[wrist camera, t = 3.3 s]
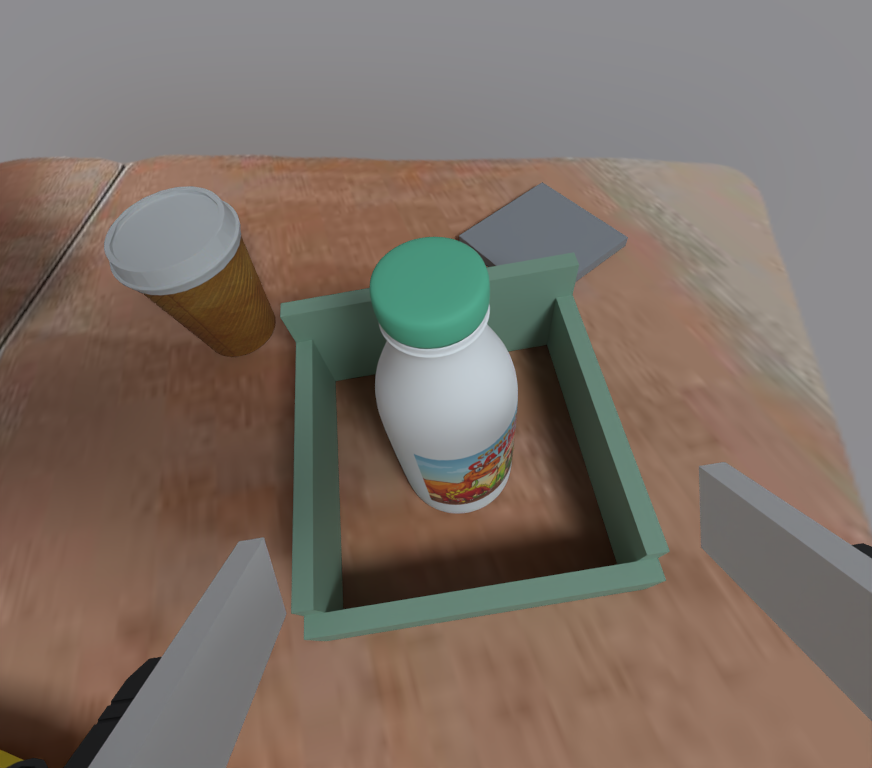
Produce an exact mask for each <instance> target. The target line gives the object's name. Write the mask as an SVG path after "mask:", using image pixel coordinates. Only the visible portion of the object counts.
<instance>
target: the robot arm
mask: <svg viewBox="0 0 872 768" xmlns="http://www.w3.org/2000/svg"><path fill="white" fill-rule="evenodd" d="M699 487H700V524H701V548H702V549H703V550H704V551H705V552H706V553H707V554H708V555H709V556H710V557H711V558H712V559H713V560H714V561H715V562H716V563H717V564H718V565H719V566H720V567H721V568H722V569H723V570H724V571H725V572H726V573H727V574H728V575H729V576H730V577H731V578H732V579H733V580H734V581H735V582H736V583H737V584H738V585H739V586H740V587H741V588H742V589H743V590H744V591H745V592H746V593H747V594H748V595H749V596H750V598H751V599H752V600H753V601H754V602H755V603H756V604H757V605H758V606H759V607H760V608H761V609H762V610H763V611H764V612H765V613H766V614H767V615H768V616H769V617H770V618H771V619H772V620H773V621H774V622H775V623H776V624H777V625H778V626H779V627H780V628H781V629H782V630H783V631H784V632H785V633H786V634H787V635H788V636H789V637H790V638H791V639H792V640H793V641H794V642H795V643H796V644H797V645H798V647H799V648H800V649H801V650H802V651H803V652H804V653H805V654H806V655H807V656H808V657H809V658H810V659H811V660H812V661H813V662H814V663H815V664H816V665H817V666H818V667H819V668H820V669H821V670H822V671H823V672H824V673H825V674H826V675H827V676H828V677H829V678H830V679H831V680H832V681H833V682H834V683H835V684H836V685H837V686H838V687H839V688H840V689H841V690H842V691H843V692H844V693H845V694H846V695H847V697H848V698H849V699H850V700H851V701H852V702H853V703H854V704H855V705H856V706H857V707H858V708H859V709H860V710H861V711H862V712H863V713H864V714H865V715H866V716H867V717H868V718H869V719H870V720H871V721H872V547H871V546H869V545H866V544H864V543H862V544H855V545H850V544H849V543H847V542H846V541H844V540H843V539H841V538H840V537H838V536H837V535H835V534H834V533H832V532H830V531H829V530H827V529H826V528H824V527H823V526H821V525H820V524H818V523H817V522H815V521H814V520H812V519H811V518H809V517H808V516H806V515H805V514H803V513H802V512H800V511H799V510H797V509H795V508H794V507H792V506H791V505H789V504H788V503H786V502H785V501H783V500H782V499H780V498H779V497H777V496H776V495H774V494H773V493H771V492H770V491H768V490H767V489H765V488H764V487H762V486H761V485H759V484H757V483H756V482H754V481H753V480H751V479H750V478H748V477H747V476H745V475H744V474H742V473H741V472H739V471H738V470H736V469H735V468H733V467H732V466H730V465H729V464H727V463H726V462H722V463H716V464H710V465H704V466H699ZM285 616H286V611H285V607H284V604H283V600H282V597H281V594H280V590H279V587H278V583H277V580H276V577H275V573H274V570H273V566H272V563H271V560H270V556H269V553H268V550H267V546H266V543H265V539H264V538H257V539H251V540H245V541H239V542H238V544H237V545H236V547H235V548H234V550H233V551H232V553H231V554H230V556H229V557H228V559H227V560H226V562H225V563H224V565H223V566H222V568H221V569H220V571H219V572H218V574H217V575H216V577H215V578H214V580H213V581H212V583H211V584H210V586H209V587H208V589H207V590H206V592H205V593H204V595H203V596H202V598H201V599H200V601H199V602H198V604H197V605H196V607H195V608H194V610H193V611H192V613H191V614H190V616H189V617H188V619H187V620H186V622H185V623H184V625H183V626H182V628H181V629H180V631H179V632H178V634H177V635H176V637H175V638H174V640H173V641H172V643H171V644H170V646H169V647H168V649H167V650H166V652H165V653H164V655H163V656H162V657H158V658H151V659H148V660H147V661H146V662H145V663H144V664H143V665H142V666H141V667H140V668H139V669H138V670H136V671H135V672H134V673H133V674H132V675H131V676H130V677H129V678H128V679H127V680H126V681H125V683H124V684H123V685H122V687H121V688H120V690H119V691H118V692H117V694H116V695H115V697H114V698H113V699H112V701H111V705H109V706H107V708H106V709H105V711H104V712H103V713H102V715H101V716H100V718H99V719H98V723H97V724H96V725H94V726H93V727H92V729H91V730H90V732H89V733H88V734H87V736H86V737H85V739H84V740H83V741H82V743H81V744H80V746H79V747H78V748H77V750H76V751H75V752H74V754H73V755H72V757H71V758H70V759H69V761H68V762H67V764H66V765H65V766H64V768H226V766H227V763H228V761H229V758H230V756H231V753H232V751H233V748H234V746H235V743H236V741H237V738H238V735H239V733H240V730H241V728H242V725H243V723H244V720H245V718H246V715H247V713H248V710H249V708H250V705H251V702H252V700H253V697H254V695H255V692H256V690H257V687H258V685H259V682H260V680H261V677H262V674H263V672H264V669H265V667H266V664H267V662H268V659H269V657H270V654H271V652H272V649H273V647H274V644H275V641H276V639H277V636H278V634H279V631H280V629H281V626H282V624H283V621H284V619H285ZM6 768H48V767H47V765H46V763H45V761H44V760H41V759H36V758H31V759H27V760H23V761H19V762H16V763H14V764H12V765H10V766H8V767H6Z"/></svg>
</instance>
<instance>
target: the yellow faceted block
mask: <svg viewBox="0 0 872 768" xmlns="http://www.w3.org/2000/svg"><path fill="white" fill-rule="evenodd" d="M19 761H23V760H22V759H20V758H18V757H16V756H13V755H11V754H9V753H7V752H4V751H2V750H0V768H6V767H8V766H10V765H12V764H14V763H16V762H19Z"/></svg>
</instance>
